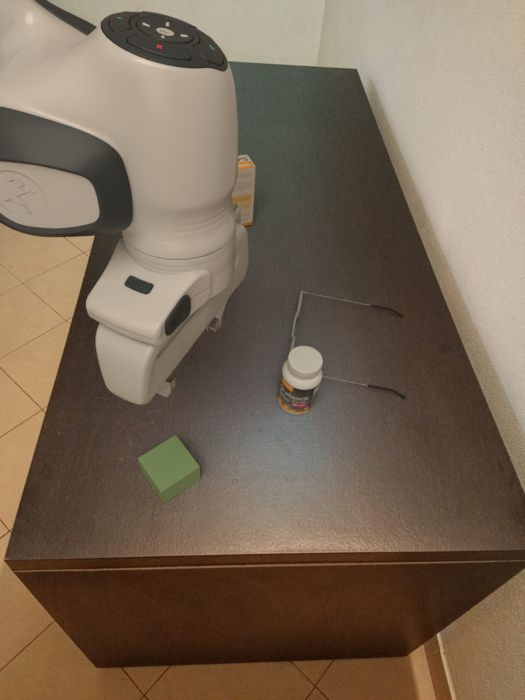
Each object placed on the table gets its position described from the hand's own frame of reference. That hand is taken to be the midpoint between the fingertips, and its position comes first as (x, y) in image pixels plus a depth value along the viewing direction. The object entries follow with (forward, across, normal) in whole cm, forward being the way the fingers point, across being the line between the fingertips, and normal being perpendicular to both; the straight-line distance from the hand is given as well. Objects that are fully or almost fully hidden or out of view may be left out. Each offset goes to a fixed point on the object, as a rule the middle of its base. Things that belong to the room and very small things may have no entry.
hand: (189, 357), depth 49 cm
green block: (+19, +5, -1) cm, 20 cm away
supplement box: (+19, -47, -20) cm, 55 cm away
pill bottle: (+19, -13, +9) cm, 25 cm away
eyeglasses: (+19, -27, +13) cm, 36 cm away
